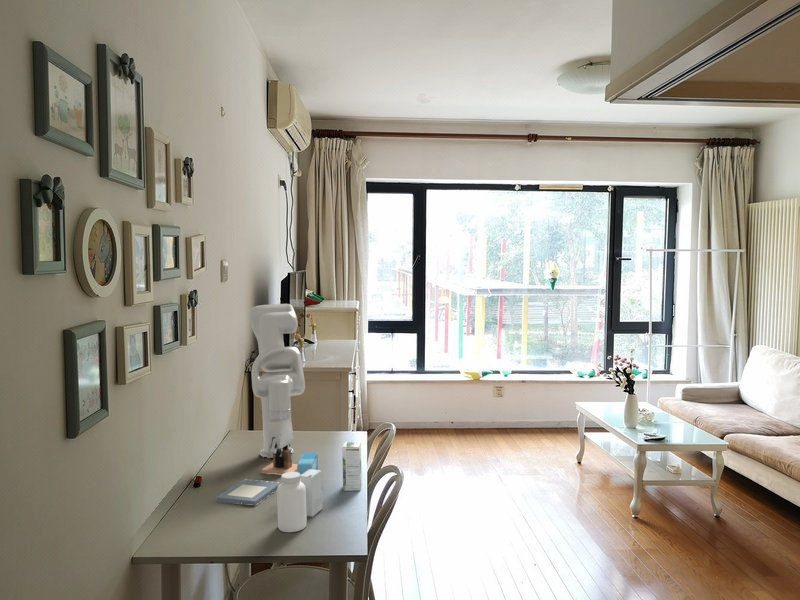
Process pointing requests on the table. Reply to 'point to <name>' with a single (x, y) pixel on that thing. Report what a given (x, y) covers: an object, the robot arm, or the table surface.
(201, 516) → the table surface
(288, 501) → the pill bottle
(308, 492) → the skincare box
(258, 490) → the board
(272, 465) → the stub
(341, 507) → the table surface
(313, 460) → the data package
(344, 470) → the syrup box
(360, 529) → the table surface
